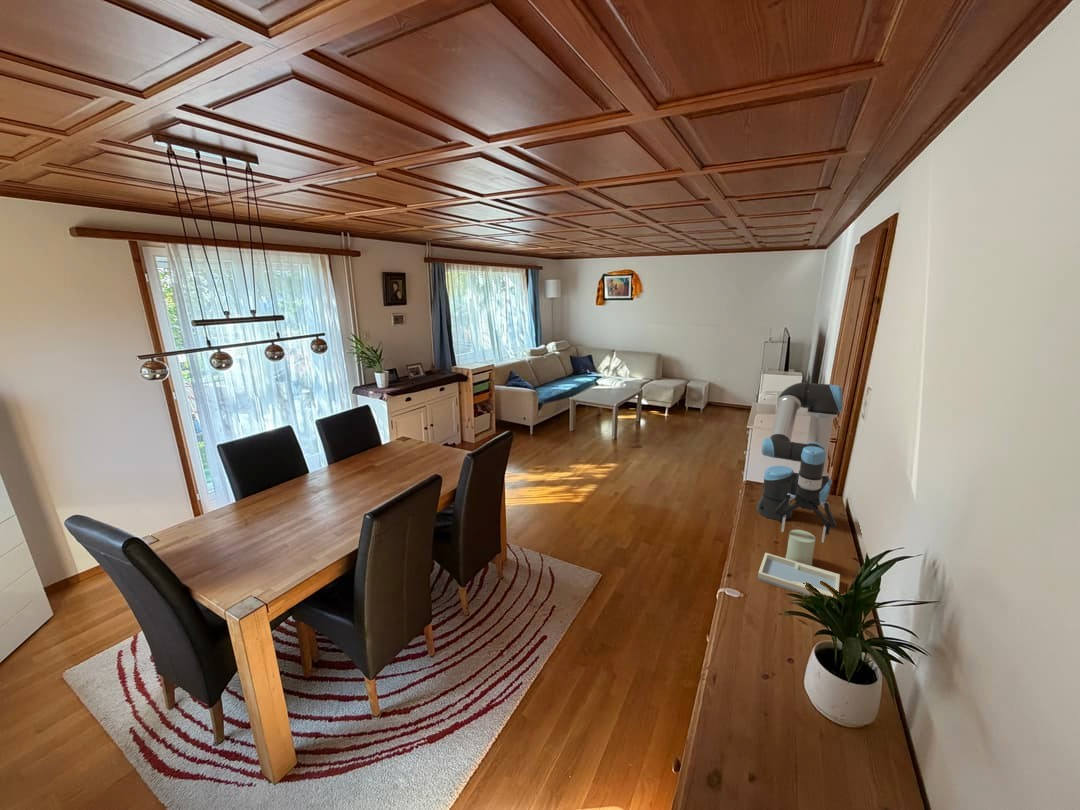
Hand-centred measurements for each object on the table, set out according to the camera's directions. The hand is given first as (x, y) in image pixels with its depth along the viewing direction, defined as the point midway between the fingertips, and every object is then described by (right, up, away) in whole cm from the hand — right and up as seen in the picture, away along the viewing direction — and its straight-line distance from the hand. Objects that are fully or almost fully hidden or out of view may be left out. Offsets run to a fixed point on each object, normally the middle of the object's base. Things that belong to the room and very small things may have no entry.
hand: (802, 535), depth 166 cm
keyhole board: (-6, -15, -7) cm, 18 cm away
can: (+1, -12, +4) cm, 12 cm away
